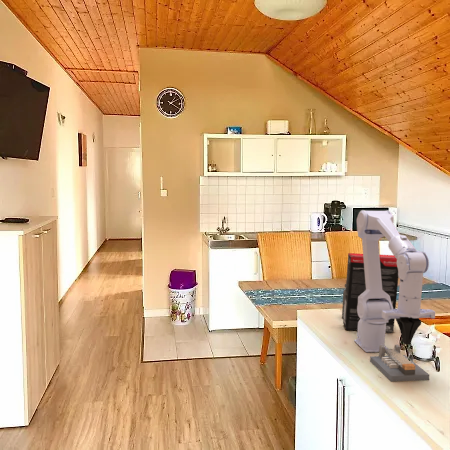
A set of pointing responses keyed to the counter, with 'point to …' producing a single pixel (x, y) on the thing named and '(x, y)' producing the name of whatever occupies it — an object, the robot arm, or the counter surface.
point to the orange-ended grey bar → (400, 359)
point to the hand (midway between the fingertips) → (406, 343)
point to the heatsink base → (397, 367)
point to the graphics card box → (358, 286)
